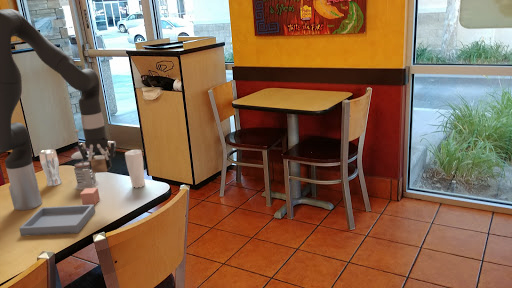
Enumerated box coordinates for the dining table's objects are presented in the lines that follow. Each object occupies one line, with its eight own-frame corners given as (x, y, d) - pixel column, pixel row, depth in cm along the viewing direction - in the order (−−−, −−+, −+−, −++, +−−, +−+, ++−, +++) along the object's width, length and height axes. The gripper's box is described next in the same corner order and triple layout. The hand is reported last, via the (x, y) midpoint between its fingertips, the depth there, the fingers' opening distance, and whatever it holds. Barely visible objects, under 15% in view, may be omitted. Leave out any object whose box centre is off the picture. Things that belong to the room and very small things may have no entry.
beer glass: (47, 182, 204) (39, 150, 199) (63, 179, 205) (56, 148, 201) (45, 188, 197) (37, 155, 193) (62, 185, 199) (55, 152, 194)
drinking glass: (142, 189, 188) (137, 154, 183) (127, 189, 189) (121, 155, 185) (149, 182, 194) (144, 149, 189) (134, 182, 195) (129, 149, 191)
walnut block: (92, 173, 168) (90, 160, 166) (97, 168, 172) (95, 155, 171) (106, 172, 168) (103, 159, 166) (110, 167, 172) (108, 154, 171)
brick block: (82, 205, 177) (80, 193, 175) (87, 200, 182) (85, 188, 180) (95, 204, 177) (92, 193, 175) (99, 199, 181) (97, 187, 180)
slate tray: (21, 236, 156) (19, 228, 155) (43, 214, 171) (41, 207, 170) (78, 233, 155) (76, 225, 154) (95, 211, 170) (93, 204, 169)
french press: (87, 179, 203) (76, 125, 196) (107, 182, 198) (96, 127, 190) (70, 188, 195) (58, 132, 187) (90, 191, 190) (78, 133, 182)
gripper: (69, 129, 161) (78, 173, 167) (109, 126, 161) (117, 171, 166) (78, 123, 168) (86, 166, 174) (116, 121, 168) (123, 164, 173)
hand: (101, 168), depth 170 cm, fingers closed on walnut block, 5 cm apart
